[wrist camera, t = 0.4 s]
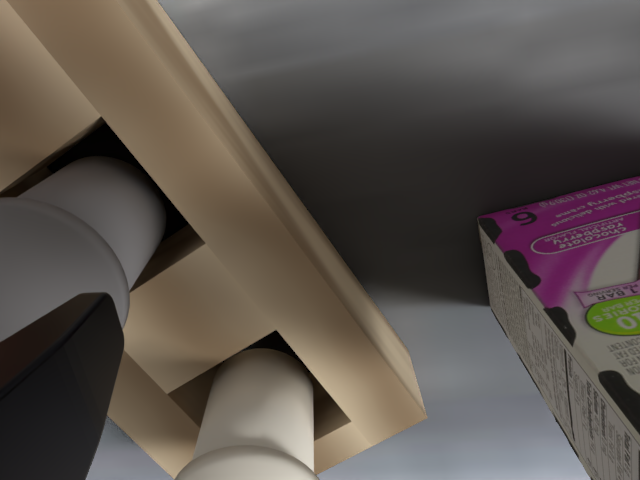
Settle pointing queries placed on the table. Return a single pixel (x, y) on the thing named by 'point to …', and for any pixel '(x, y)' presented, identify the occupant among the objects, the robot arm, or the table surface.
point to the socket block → (198, 230)
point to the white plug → (256, 421)
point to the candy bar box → (576, 314)
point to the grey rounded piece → (76, 239)
